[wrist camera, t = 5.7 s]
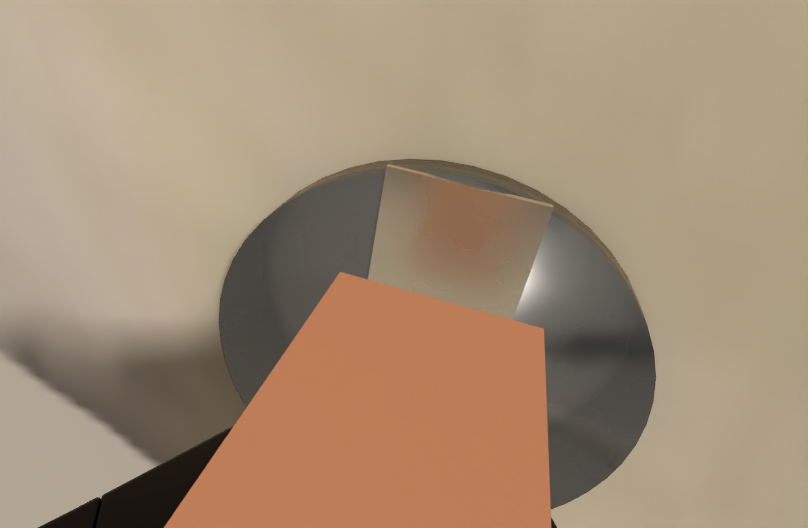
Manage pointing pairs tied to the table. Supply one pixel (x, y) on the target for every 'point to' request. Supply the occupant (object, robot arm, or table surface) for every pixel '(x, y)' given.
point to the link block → (388, 423)
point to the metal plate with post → (458, 290)
